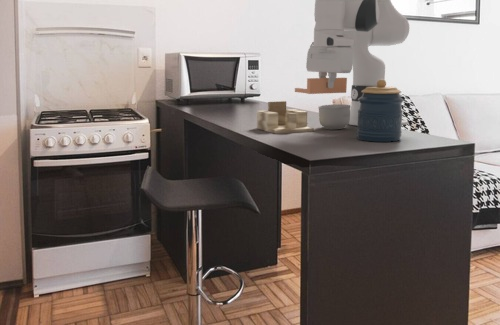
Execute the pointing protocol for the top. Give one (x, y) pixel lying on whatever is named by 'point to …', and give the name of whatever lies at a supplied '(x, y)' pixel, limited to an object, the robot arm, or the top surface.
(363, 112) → the canister
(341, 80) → the orange angled block
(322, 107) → the teacup
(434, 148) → the top surface
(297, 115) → the wooden block stack
